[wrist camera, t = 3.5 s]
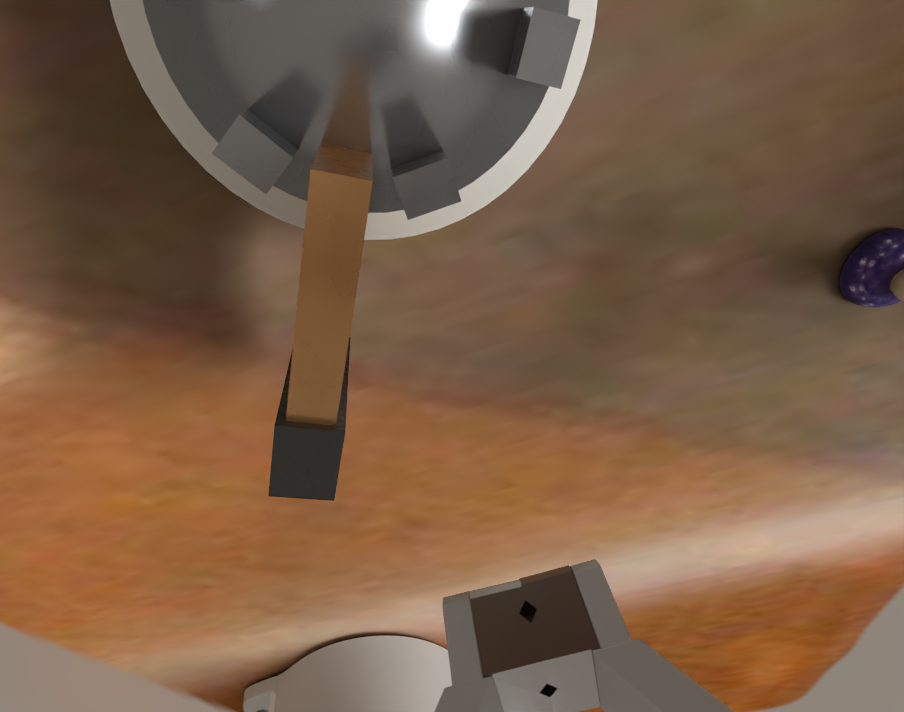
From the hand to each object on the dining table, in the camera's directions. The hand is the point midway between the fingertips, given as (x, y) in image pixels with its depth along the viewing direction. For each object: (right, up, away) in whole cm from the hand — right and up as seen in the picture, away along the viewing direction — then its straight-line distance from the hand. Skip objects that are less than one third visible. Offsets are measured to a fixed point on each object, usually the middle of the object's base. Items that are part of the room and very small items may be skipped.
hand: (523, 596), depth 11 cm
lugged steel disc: (-5, +12, +10) cm, 17 cm away
